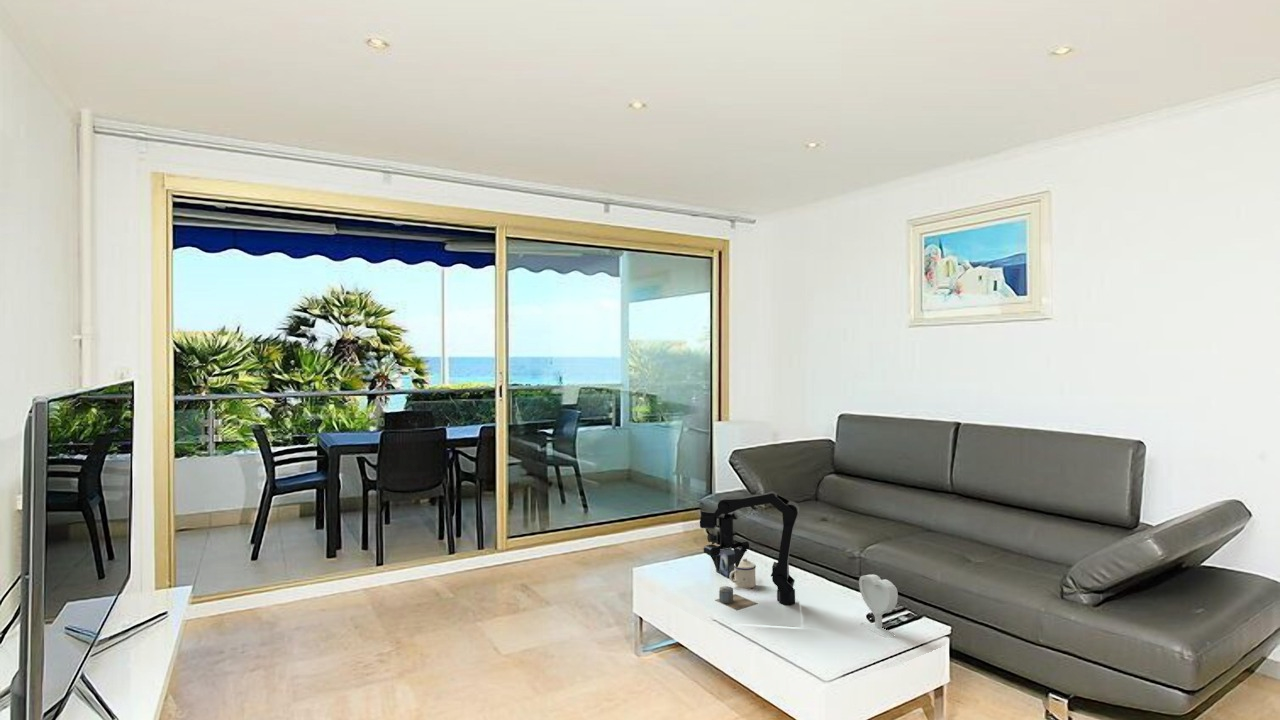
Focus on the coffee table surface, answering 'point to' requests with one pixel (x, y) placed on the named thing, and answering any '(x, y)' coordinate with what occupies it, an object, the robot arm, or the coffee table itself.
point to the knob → (726, 594)
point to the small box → (727, 562)
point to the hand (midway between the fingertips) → (727, 568)
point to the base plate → (739, 602)
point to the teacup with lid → (744, 574)
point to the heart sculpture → (878, 600)
